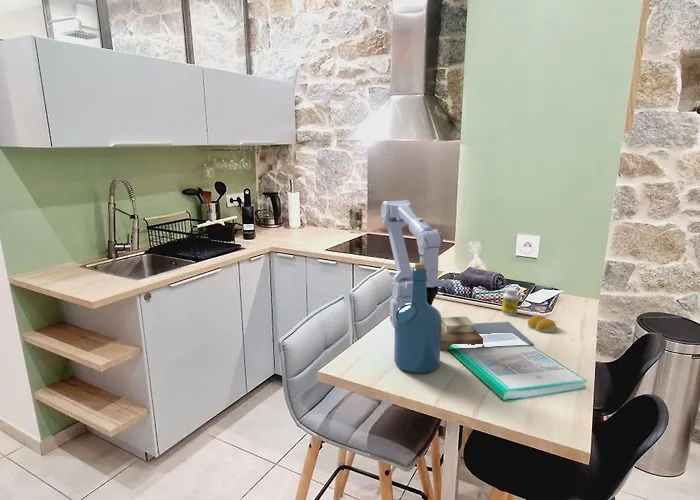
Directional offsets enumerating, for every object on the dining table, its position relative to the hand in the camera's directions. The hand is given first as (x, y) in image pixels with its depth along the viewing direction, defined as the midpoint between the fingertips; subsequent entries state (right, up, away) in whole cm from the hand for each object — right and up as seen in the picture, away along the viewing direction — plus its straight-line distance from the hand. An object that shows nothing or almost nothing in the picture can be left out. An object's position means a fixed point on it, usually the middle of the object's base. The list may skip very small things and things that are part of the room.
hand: (427, 309), depth 144 cm
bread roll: (+41, -8, +11) cm, 43 cm away
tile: (+10, -7, +3) cm, 12 cm away
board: (+8, -10, +3) cm, 13 cm away
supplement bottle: (+35, -5, +23) cm, 42 cm away
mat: (+24, -9, +5) cm, 26 cm away
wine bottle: (-6, -14, -15) cm, 21 cm away
